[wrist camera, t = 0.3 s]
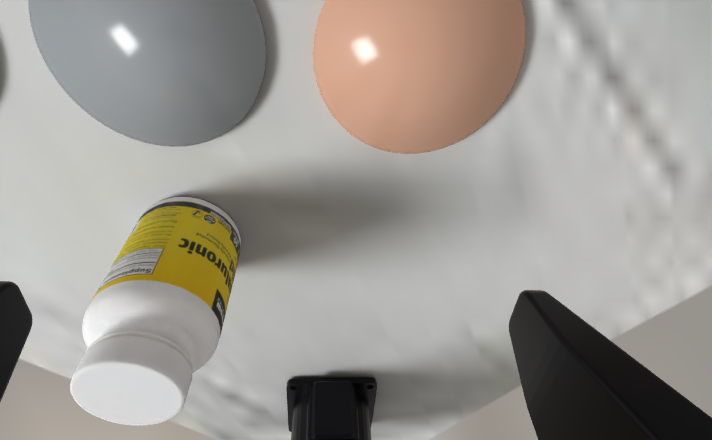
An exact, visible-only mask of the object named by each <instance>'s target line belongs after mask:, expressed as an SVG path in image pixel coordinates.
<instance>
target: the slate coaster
mask: <svg viewBox="0 0 712 440" xmlns="http://www.w3.org/2000/svg"><path fill="white" fill-rule="evenodd" d="M29 14H30V21H31V26H32V30H33V33H34V37H35V40H36V43H37V45H38V48H39V50H40V53H41V55H42V57H43V59H44V61H45V63H46V64H47V66H48V68H49V70H50V71H51V73H52V74H53V76H54V77H55V79H56V80H57V82H58V83H59V84H60V86H61V87H62V88H63V89H64V90H65V92H66V93H67V94H68V95H69V96H70V97H71V98H72V99H73V100H74V101H75V102H76V103H77V104H78V105H79V106H80V107H81V108H82V109H83V110H85V111H86V112H87V113H88V114H90V115H91V116H92V117H93V118H95V119H96V120H98V121H99V122H101V123H102V124H104V125H105V126H107V127H109V128H111V129H113V130H114V131H116V132H118V133H120V134H123V135H125V136H127V137H130V138H132V139H135V140H139V141H142V142H145V143H150V144H155V145H161V146H189V145H196V144H200V143H204V142H207V141H210V140H212V139H215V138H217V137H219V136H221V135H223V134H224V133H226V132H228V131H229V130H231V129H232V128H233V127H234V126H235V125H237V124H238V123H239V122H240V121H241V120H242V119H243V118H244V116H245V115H246V114H247V113H248V111H249V110H250V108H251V107H252V105H253V104H254V102H255V99H256V97H257V95H258V93H259V90H260V87H261V84H262V80H263V77H264V71H265V64H266V44H265V36H264V30H263V26H262V22H261V18H260V16H259V13H258V10H257V7H256V5H255V2H254V0H29Z"/></svg>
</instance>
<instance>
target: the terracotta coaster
mask: <svg viewBox="0 0 712 440" xmlns="http://www.w3.org/2000/svg"><path fill="white" fill-rule="evenodd" d="M525 40H526V24H525V16H524V10H523V5H522V2H521V0H325V2H324V5H323V7H322V9H321V12H320V15H319V18H318V21H317V26H316V32H315V37H314V51H313V56H314V69H315V75H316V80H317V84H318V87H319V90H320V93H321V95H322V97H323V100H324V102H325V104H326V106H327V107H328V109H329V110H330V112H331V113H332V115H333V116H334V118H335V119H336V120H337V121H338V122H339V123H340V125H341V126H342V127H343V128H345V129H346V130H347V131H348V132H349V133H350V134H351V135H353V136H354V137H356V138H357V139H359V140H360V141H362V142H364V143H366V144H368V145H370V146H372V147H375V148H378V149H381V150H385V151H389V152H394V153H405V154H411V153H423V152H430V151H434V150H438V149H441V148H444V147H447V146H449V145H452V144H454V143H456V142H458V141H460V140H462V139H464V138H466V137H467V136H469V135H470V134H472V133H473V132H475V131H476V130H477V129H479V128H480V127H481V126H482V125H483V124H485V123H486V122H487V121H488V120H489V119H490V118H491V117H492V116H493V115H494V113H495V112H496V111H497V110H498V109H499V107H500V106H501V105H502V103H503V102H504V101H505V99H506V97H507V96H508V94H509V92H510V91H511V89H512V87H513V85H514V83H515V81H516V78H517V76H518V73H519V70H520V67H521V64H522V60H523V55H524V50H525Z"/></svg>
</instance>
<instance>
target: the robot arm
mask: <svg viewBox="0 0 712 440" xmlns="http://www.w3.org/2000/svg"><path fill="white" fill-rule="evenodd" d="M31 327H32V314H31V312H30V310H29V308H28V306H27V304H26V301H25V299H24V297H23V295H22V293H21V291H20V289H19V287H18V286H17V285H16V284H15V283H13V282H9V281H0V401H1V399H2V397H3V395H4V392H5V390H6V387H7V385H8V383H9V380H10V378H11V375H12V373H13V370H14V368H15V366H16V363H17V361H18V359H19V356H20V354H21V351H22V349H23V347H24V344H25V342H26V339H27V337H28V335H29V332H30V330H31ZM509 332H510V337H511V341H512V345H513V350H514V354H515V358H516V362H517V367H518V371H519V375H520V379H521V384H522V388H523V392H524V396H525V400H526V403H527V408H528V411H529V414H530V417H531V420H532V423H533V425H534V428H535V431H536V434H537V437H538V440H712V418H711V417H710V416H708V415H707V414H706V413H704V412H703V411H702V410H701V409H699V408H698V407H696V406H695V405H694V404H693V403H692V402H690V401H689V400H688V399H686V398H685V397H684V396H682V395H681V394H680V393H678V392H677V391H676V390H674V389H673V388H672V387H671V386H669V385H668V384H666V383H665V382H664V381H663V380H661V379H660V378H659V377H657V376H656V375H655V374H653V373H652V372H651V371H650V370H648V369H647V368H646V367H644V366H643V365H642V364H640V363H639V362H638V361H636V360H635V359H634V358H632V357H631V356H630V355H628V354H627V353H626V352H625V351H623V350H622V349H621V348H619V347H618V346H617V345H615V344H614V343H613V342H611V341H610V340H609V339H607V338H606V337H605V336H604V335H602V334H601V333H600V332H598V331H597V330H596V329H594V328H593V327H592V326H590V325H589V324H588V323H586V322H585V321H584V320H583V319H581V318H580V317H579V316H577V315H576V314H575V313H573V312H572V311H571V310H569V309H568V308H567V307H565V306H564V305H563V304H562V303H560V302H559V301H558V300H556V299H555V298H554V297H552V296H551V295H550V294H548V293H547V292H545V291H541V290H525V291H523V292H521V293H520V295H519V297H518V300H517V302H516V305H515V307H514V310H513V313H512V315H511V318H510V321H509ZM376 390H377V382H376V380H375V379H373V378H319V379H290V380H289V381H288V382H287V404H288V425H289V431H290V432H292V435H291V440H371V429H370V428H371V423H372V417H373V410H374V403H375V397H376Z"/></svg>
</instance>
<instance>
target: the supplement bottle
mask: <svg viewBox="0 0 712 440" xmlns="http://www.w3.org/2000/svg"><path fill="white" fill-rule="evenodd" d="M240 249H241V238H240V234H239V231H238V229H237V226H236V225H235V223H234V222H233V220H232V219H231V218H230V217H229V216H228V215H227V214H226V213H225V212H224V211H223V210H221V209H220V208H218V207H217V206H215V205H213V204H211V203H209V202H207V201H204V200H201V199H197V198H191V197H174V198H169V199H165V200H162V201H160V202H158V203H156V204H154V205H152V206H151V207H150V208H148V209H147V210H146V211H145V213H144V214H143V215H142V216H141V218H140V219H139V221H138V223H137V224H136V226H135V227H134V229H133V231H132V233H131V234H130V236H129V238H128V240H127V241H126V243H125V245H124V246H123V248H122V250H121V251H120V253H119V255H118V257H117V258H116V260H115V262H114V264H113V265H112V267H111V269H110V270H109V272H108V274H107V275H106V277H105V279H104V280H103V282H102V284H101V285H100V287H99V289H98V291H97V292H96V294H95V296H94V297H93V299H92V301H91V302H90V304H89V307H88V309H87V311H86V313H85V316H84V319H83V326H82V331H83V337H84V340H85V343H86V345H87V347H88V349H87V350H86V352H85V354H84V355H83V357H82V359H81V361H80V363H79V365H78V367H77V369H76V371H75V373H74V375H73V377H72V379H71V384H70V391H71V394H72V396H73V398H74V400H75V401H76V402H77V403H78V404H79V405H80V406H81V407H82V408H83V409H84V410H86V411H87V412H89V413H90V414H92V415H94V416H97V417H99V418H101V419H104V420H107V421H110V422H114V423H118V424H124V425H151V424H157V423H160V422H163V421H166V420H168V419H170V418H172V417H174V416H175V415H176V414H177V413H178V412H179V411H180V410H181V409H182V407H183V405H184V403H185V400H186V397H187V393H188V390H189V386H190V384H191V381H192V373H193V372H195V371H196V370H198V369H200V368H201V367H202V366H203V365H205V364H206V363H207V362H208V361H209V360H210V358H211V357H212V355H213V354H214V352H215V350H216V348H217V344H218V341H219V338H220V335H221V331H222V326H223V322H224V318H225V314H226V309H227V305H228V301H229V297H230V293H231V288H232V284H233V281H234V276H235V272H236V268H237V264H238V260H239V255H240Z"/></svg>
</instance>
